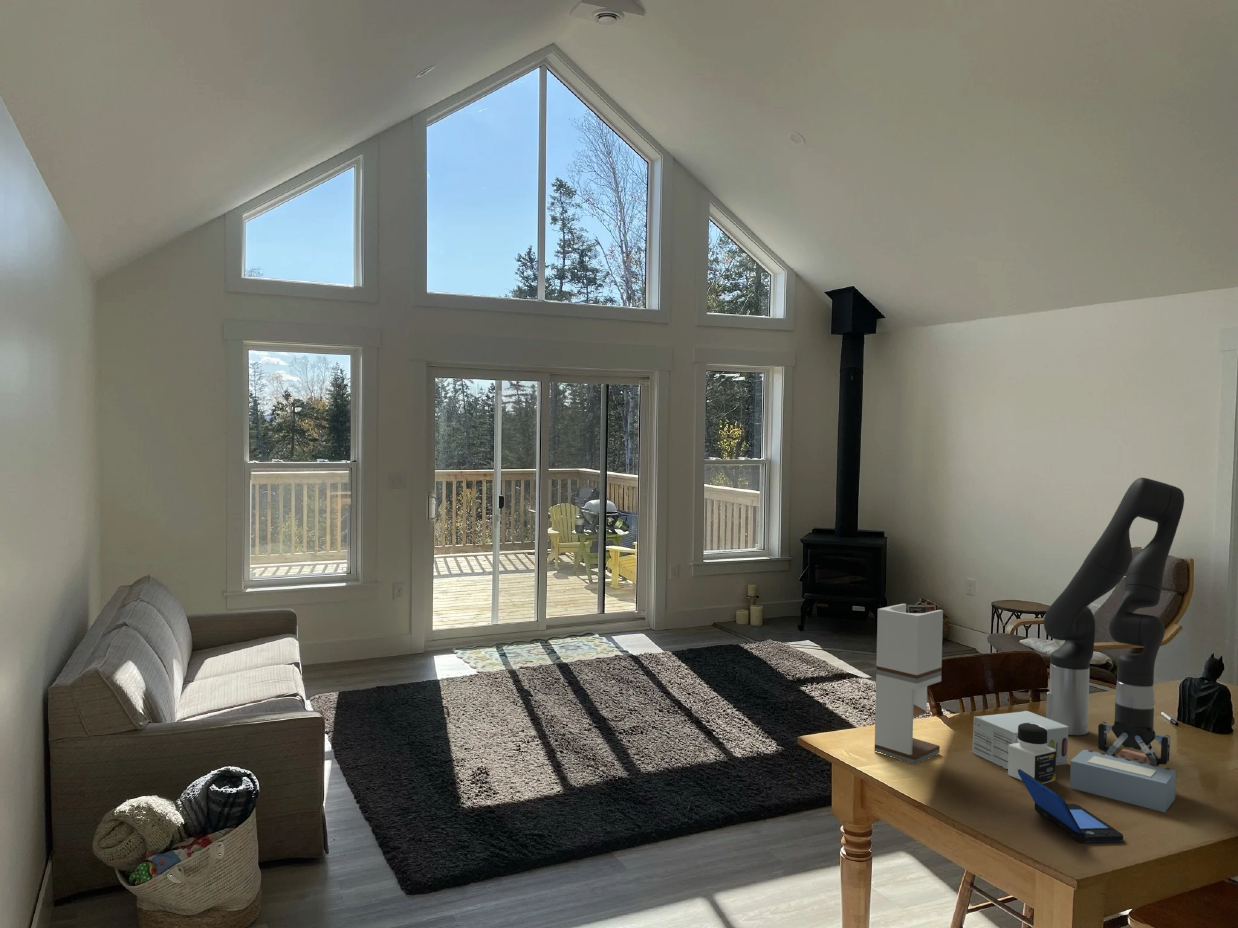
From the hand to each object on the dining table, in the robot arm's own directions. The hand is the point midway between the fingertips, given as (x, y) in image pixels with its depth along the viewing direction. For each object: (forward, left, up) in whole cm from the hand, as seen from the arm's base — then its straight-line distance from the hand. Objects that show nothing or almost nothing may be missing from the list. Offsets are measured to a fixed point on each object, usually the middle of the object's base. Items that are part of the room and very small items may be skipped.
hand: (1132, 775), depth 195 cm
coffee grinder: (-44, -19, -2) cm, 48 cm away
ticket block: (0, -9, -1) cm, 9 cm away
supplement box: (-23, -3, -2) cm, 23 cm away
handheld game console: (-4, -35, -2) cm, 35 cm away
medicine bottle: (-17, -14, -2) cm, 22 cm away
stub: (0, 0, -1) cm, 1 cm away
